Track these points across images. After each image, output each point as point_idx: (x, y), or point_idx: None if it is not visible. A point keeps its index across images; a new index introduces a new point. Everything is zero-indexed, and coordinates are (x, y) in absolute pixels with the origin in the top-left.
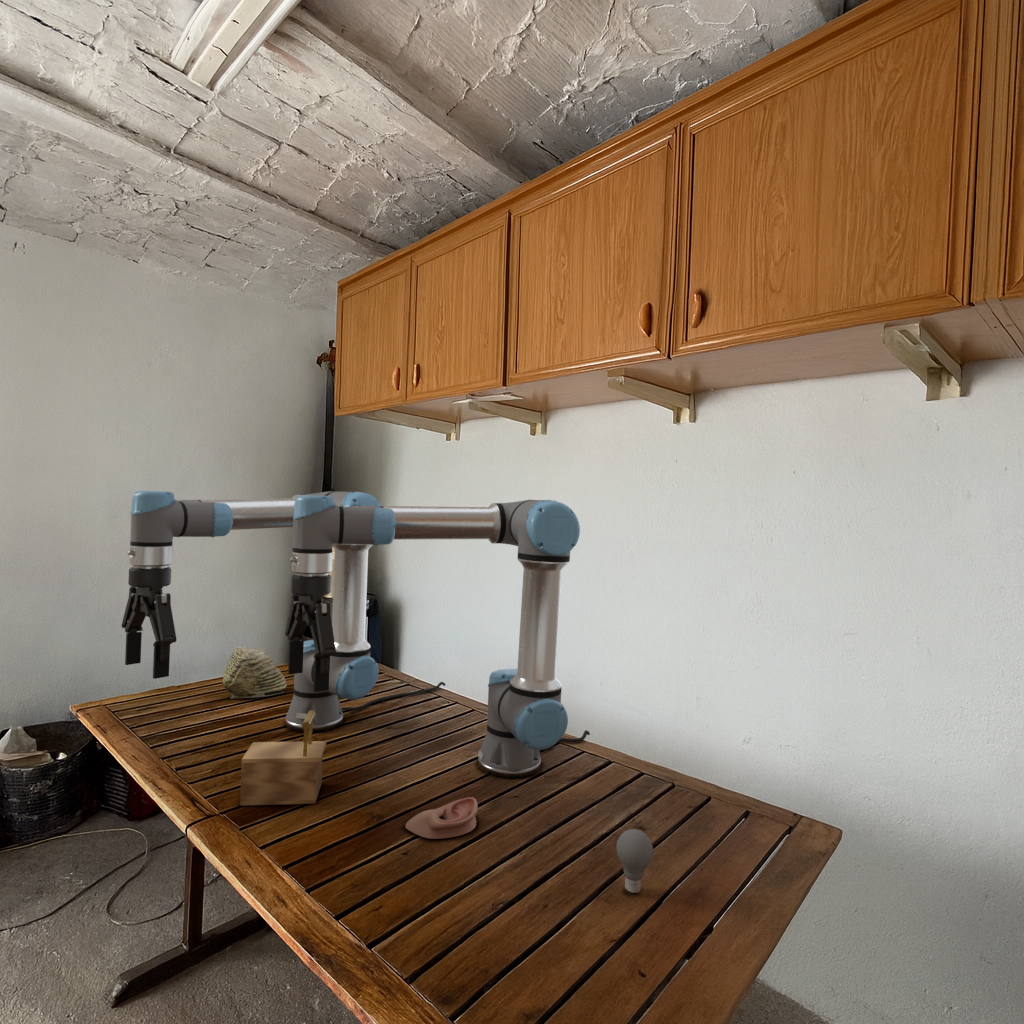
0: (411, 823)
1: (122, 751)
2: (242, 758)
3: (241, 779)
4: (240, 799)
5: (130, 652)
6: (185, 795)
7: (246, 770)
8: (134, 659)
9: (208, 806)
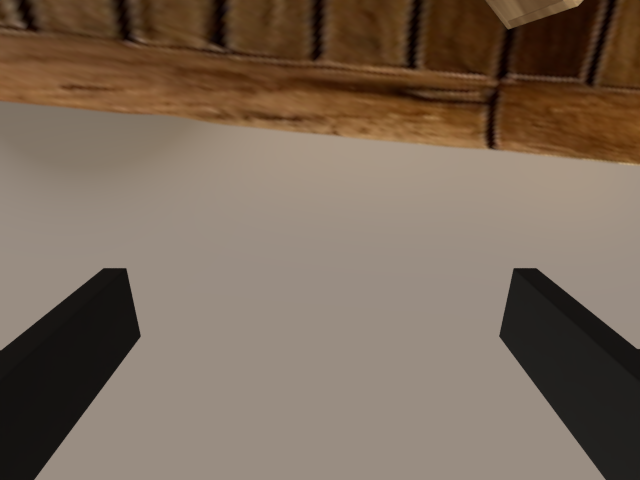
0: None
1: (23, 96)
2: (576, 2)
3: (542, 17)
4: (515, 26)
5: (94, 369)
6: (368, 94)
7: None
8: (119, 315)
9: (453, 82)
